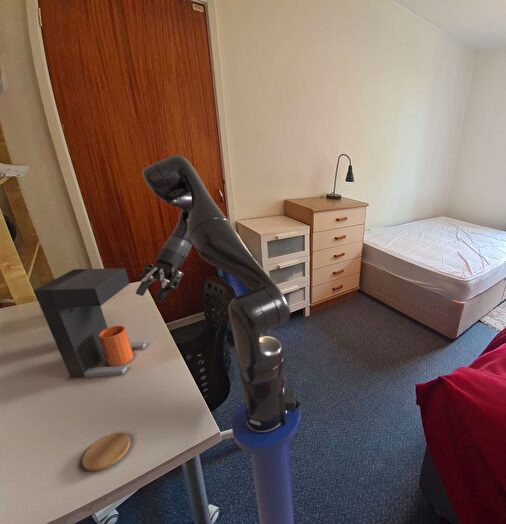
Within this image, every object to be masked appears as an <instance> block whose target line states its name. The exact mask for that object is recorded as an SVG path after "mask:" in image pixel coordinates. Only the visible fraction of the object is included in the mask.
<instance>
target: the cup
mask: <svg viewBox="0 0 506 524" xmlns="http://www.w3.org/2000/svg"><path fill="white" fill-rule="evenodd" d="M128 335H129V334H128V331H127V329H126V327H125V326H124V325H114V326H109V327H108V328H107V329H105V330H103V331H101V332H100V333H99V335H98V337H99V340H100V342H101V345H102V348H103V351H104V354H105V357H104V358H105V359H106V362H107V365H108V366H109V367H117V366H124V365H125V364H127V363H129V362H130V361H132V360H133V358H134V352H133V349H132V348H131V345H130V343H131V342H130V339H129V336H128Z"/></svg>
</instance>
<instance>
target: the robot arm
mask: <svg viewBox="0 0 506 524" xmlns="http://www.w3.org/2000/svg"><path fill="white" fill-rule="evenodd" d="M141 172H142V178H143V180H144V182H145V183H146V186H147V187H148V188H149V189H150V191H151V192H152V193H153V194H154V195H155V196H156V197H157V198H158V199H159V200H160V201H162V202H164V203H166V204H169V205H171V206H174V207H176V208H178V209H180V211H179V217H178V220H177V222H176V226H175V227H174V229H173V231H172V233H171V234H170V235H169V237H168V238H167V240H166V241H165V242H164V244H163V245H162V247H161V249H160V251H159V252H158V254H157V256H156V258H155V261H156V263H155V265H154V264H152V263H151V262H150V263H147V264H146V265H145V266H144V268H143V269H142V271H141V272H140V275H139V276H138V277H137V280H139V281H140V284H139V286H138V288H137V289H136V291H135V295H137V296H144V295H145V293H146V292H147V290H148V289H149V287H150V285H151V284H152V283H154V282H157V281H159V282H160V283H161V288H159V290H158V292H157V294H156V295H155V297H154V300H155V301H156V302H157V301H158V302H163V301H164V300H165V298H166V296H167V295H168V293H169V292H170V291H176V290H177V288H178V286H179V284H180V282H181V280H182V278H183V276H184V272H182V271H180V270H181V268H182V266H183V265H184V262H185V261H186V259H187V258H188V255H189V254H190V252H191V249H192V247H194V248H195V250H196V252H197V253H198V255H199V257H200V258H201V259H202V260H203V261H204V262H205V263H207V264H209V265H210V266H212V267H214V268H216V269H217V270H220V271H222V272H224V273H226V274H228V275H230V276H232V277H234V278H236V279H237V280H239V281H240V282H241V283H242V284H244V285H245V287H246V288H247V289H248V290H249V291H247V292H245V293H242V294H240V295H237V296H234V297H232V299H230V301H229V303H228V307H227V314H228V321H229V325H230V329H231V330H230V331H231V335H232V339H233V345H234V350H235V353H236V356H237V360H238V367H239V374H240V382H241V389H242V397H243V402H244V405H245V412H246V423H247V426H248V428H249V429H250V430H251V431H253V432H255V433H258V434H265V433H270V432H272V431H274V430H276V429H278V428H279V427H280V426H282V425H286V417H287V410H292V411H293V412H294V411H295V410H296V409H297V408H299V407H301V400H300V399H299V398H298V397H297V395H296V388H287V377H286V374H285V367H284V366H285V364H284V349H283V345H282V343H281V341H280V340H279V339H277V338H276V337H273V336H270V335H267V334H269V333H271V332H273V331H276V330H277V329H279V328H281V327H283V326H284V325H287V324H288V322H289V321H290V319H291V309H290V308H291V307H290V305H289V303H288V302H289V301H288V300H287V298H286V297H285V295H284V294H283V292H282V291H281V289H280V288H279V286H278V285H277V284H276V283H275V282H274V281H273V280H272V278H271V276H269V274H267V272H266V271H265V270H264V269H263V268H262V267H261V265H260V264H259V263H258V261H256V259H255V258H254V256H253V255H252V254H251V252H250V251H249V249H248V247H246V245H245V243H244V242H243V240H242V238H241V237H240V235H239V233H237V231H236V228H235V227H233V225H232V224H231V221H229V218H227V216H225V214H224V213H223V212H222V210H221V209H220V207H219V206H218V205H217V203H216V202H215V200H214V199H213V198H212V196H211V194H210V192H209V190H208V189H207V187H206V185H205V183H204V182H203V180H202V179H201V177H200V175H199V173H198V172H197V170H196V169H195V167H194V166H193V165H192V163H191V162H190V161H189V160H188V158H186V157H185V156H183V155H181V154H174V155H170V156H167V157H166V158H164V159H161V160H158V161H156V162H153V163H151V164H149V165H148V166H146V167H144V168H143V170H142V171H141ZM295 402H296V403H297V404H296V405H295Z"/></svg>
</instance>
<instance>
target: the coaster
mask: <svg viewBox="0 0 506 524" xmlns="http://www.w3.org/2000/svg"><path fill="white" fill-rule="evenodd" d="M130 446H131V439H130V437H129V435H127V434H126V433H123V432H117V433H116V432H115V433H112V434H108V435H106V436H104V437H102V438H100V439H99V440H97V441H96V442H95V443H93V444H92V445H91V446H90V447H89V448H88V449H87V450H86V452H85V454H84V455H83V457H82V462H81V463H82V466H83V468H84V470H86V471H88V472H98V471H103V470H105V469H107V468H109V467H111V466H112V465H114V464H115V463H117V462H118V461H120V460H121V459H122V458H123V457H124V456H125V455H126V453H128V450H129V448H130Z"/></svg>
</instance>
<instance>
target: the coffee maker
mask: <svg viewBox="0 0 506 524" xmlns="http://www.w3.org/2000/svg"><path fill="white" fill-rule="evenodd" d="M126 269H127V268H126V267H119V268H118V267H115V268H113V267H112V268H111V267H110V268H76V269H75V268H74V269H72V270H69V271H68V272H66V273H64V274H61V276H58V277H57V278H54V279H53V280H51V281H49V282H47V283H45V284H43V285H41V286H39V287H38V288H36V289H33V293H34V295H35V297H36V300H37V303H38V304H39V307H40V309H41V312H42V314H43V316H44V319H45V321H46V323H47V325H48V329H49V330H50V333H51V336H52V337H53V340H54V342H55V344H56V347H57V350H58V352H59V354H60V356H61V359H62V361H63V364H64V367H65V368H66V370H67V373H68V376H69V377H70V379H75V378H90V377H103V376H104V377H105V376H114V375H117V376H118V375H124V374H125V373H126V371H127V370H128V367H127V365H120V366H105V367H96V366H97V365H98V364H99V363H100V362H101V361H102V360H103V359H104V358H106V357H105V354H104V351H103V348H102V345H101V342H100V340H99V337H98V335H99V333H100V332H101V331H103V330H105V329H107V328H109V327H108V325H107V322H106V319H105V315H104V313H103V310H102V307H101V306H103V305H105V303H107V302H108V301H109V300H110V299H112V298H113V297H115V296H116V295H117V294H118V293H120V291H122V290H124V289H125V288H126V287H128V286H129V285H130V279H129V276H128V272H127V270H126ZM130 345H131V348H132V350H143V349H145V348H146V347H147V345H148V344H147V342H146V341H135V342H130Z"/></svg>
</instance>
